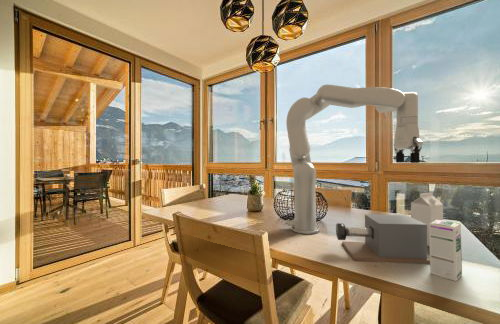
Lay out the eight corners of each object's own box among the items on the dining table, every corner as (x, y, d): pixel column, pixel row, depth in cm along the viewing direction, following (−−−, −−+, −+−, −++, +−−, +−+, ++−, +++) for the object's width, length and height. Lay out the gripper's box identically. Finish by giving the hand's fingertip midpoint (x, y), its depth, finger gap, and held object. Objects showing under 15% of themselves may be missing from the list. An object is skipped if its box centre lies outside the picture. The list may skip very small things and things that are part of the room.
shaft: (340, 242, 76) (339, 226, 76) (336, 236, 82) (335, 221, 82) (397, 244, 74) (397, 227, 74) (389, 238, 79) (389, 222, 79)
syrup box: (456, 282, 58) (456, 227, 58) (429, 273, 63) (428, 222, 63) (462, 275, 62) (462, 223, 62) (435, 267, 67) (435, 218, 66)
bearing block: (354, 260, 72) (353, 224, 71) (342, 243, 85) (341, 213, 85) (432, 263, 68) (432, 225, 68) (407, 245, 82) (406, 214, 82)
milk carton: (410, 240, 87) (410, 192, 87) (422, 238, 90) (422, 191, 89) (431, 247, 81) (430, 195, 80) (443, 244, 83) (443, 193, 83)
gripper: (386, 125, 104) (386, 162, 104) (411, 119, 87) (411, 163, 87) (403, 125, 104) (403, 162, 104) (431, 118, 86) (431, 162, 87)
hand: (407, 162), depth 96 cm, fingers open, 9 cm apart
